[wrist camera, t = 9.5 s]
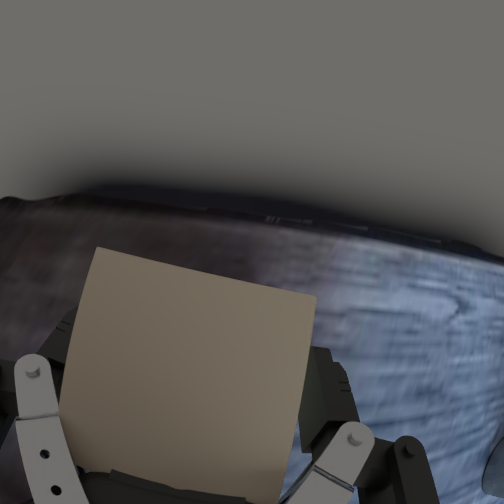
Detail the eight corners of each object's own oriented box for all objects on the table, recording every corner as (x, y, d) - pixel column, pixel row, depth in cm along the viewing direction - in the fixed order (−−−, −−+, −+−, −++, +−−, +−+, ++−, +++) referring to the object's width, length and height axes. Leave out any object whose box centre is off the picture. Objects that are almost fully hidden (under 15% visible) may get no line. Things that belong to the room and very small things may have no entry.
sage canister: (247, 336, 18) (316, 296, 7) (231, 419, 16) (276, 508, 5) (162, 316, 18) (97, 246, 7) (144, 399, 16) (54, 454, 5)
